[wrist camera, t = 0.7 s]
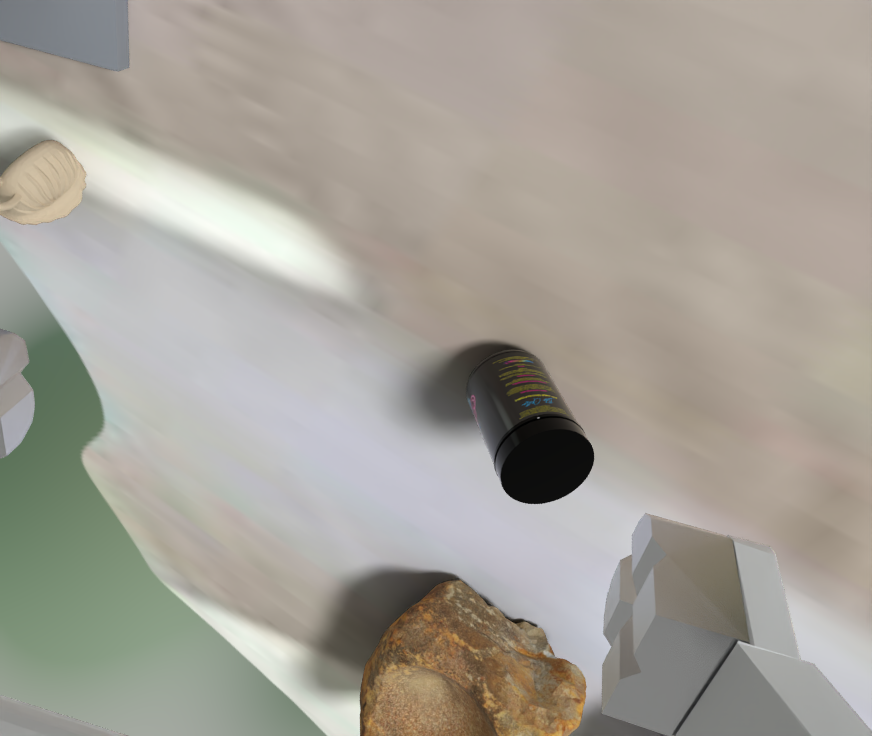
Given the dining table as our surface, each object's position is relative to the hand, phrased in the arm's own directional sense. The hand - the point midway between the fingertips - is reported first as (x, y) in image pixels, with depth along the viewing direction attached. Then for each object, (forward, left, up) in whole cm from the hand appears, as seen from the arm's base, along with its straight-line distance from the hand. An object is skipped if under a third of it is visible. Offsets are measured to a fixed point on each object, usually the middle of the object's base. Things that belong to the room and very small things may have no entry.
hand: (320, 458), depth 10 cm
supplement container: (+26, +6, -45) cm, 52 cm away
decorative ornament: (+19, -34, -45) cm, 59 cm away
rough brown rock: (+56, +6, -45) cm, 72 cm away
